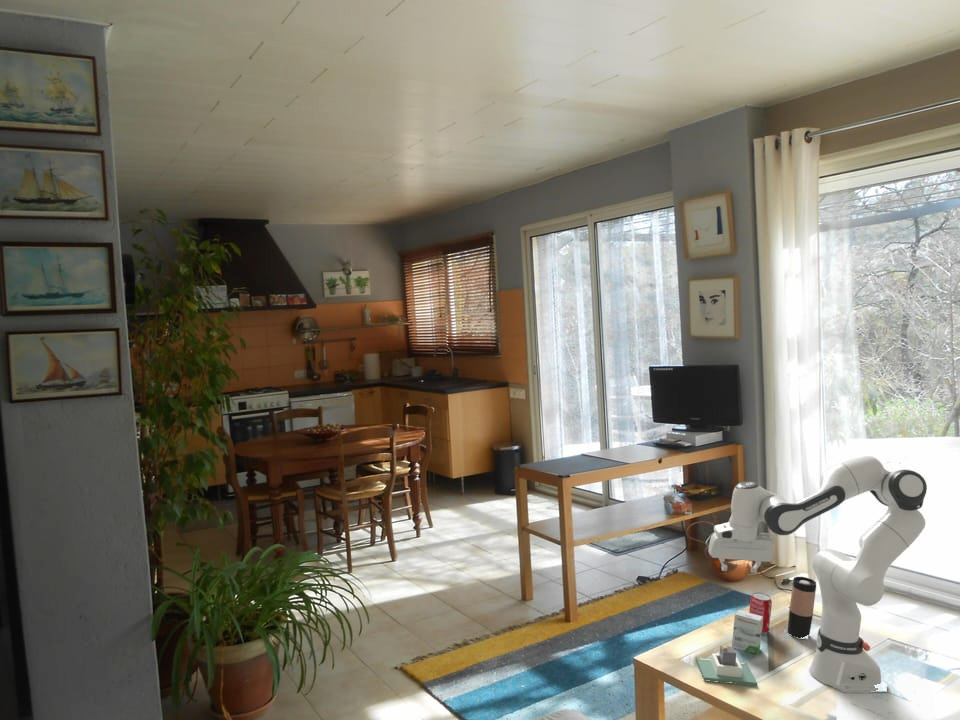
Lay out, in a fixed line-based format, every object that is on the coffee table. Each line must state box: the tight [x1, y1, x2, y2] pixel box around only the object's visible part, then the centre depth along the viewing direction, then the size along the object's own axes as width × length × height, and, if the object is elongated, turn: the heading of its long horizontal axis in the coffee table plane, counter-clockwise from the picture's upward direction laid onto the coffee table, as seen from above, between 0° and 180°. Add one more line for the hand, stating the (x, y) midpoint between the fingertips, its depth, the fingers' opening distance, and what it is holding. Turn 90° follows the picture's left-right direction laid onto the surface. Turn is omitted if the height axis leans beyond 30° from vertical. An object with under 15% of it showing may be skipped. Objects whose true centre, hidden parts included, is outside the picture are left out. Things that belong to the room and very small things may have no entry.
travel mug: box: [787, 576, 817, 638], centre depth 263 cm, size 8×8×20 cm
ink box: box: [731, 609, 763, 655], centre depth 251 cm, size 9×5×12 cm, turn 60°
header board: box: [695, 653, 758, 687], centre depth 234 cm, size 16×12×4 cm
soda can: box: [748, 591, 773, 635], centre depth 264 cm, size 7×7×13 cm
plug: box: [718, 645, 737, 666], centre depth 234 cm, size 4×4×8 cm
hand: (738, 571), depth 244 cm, fingers open, 8 cm apart
